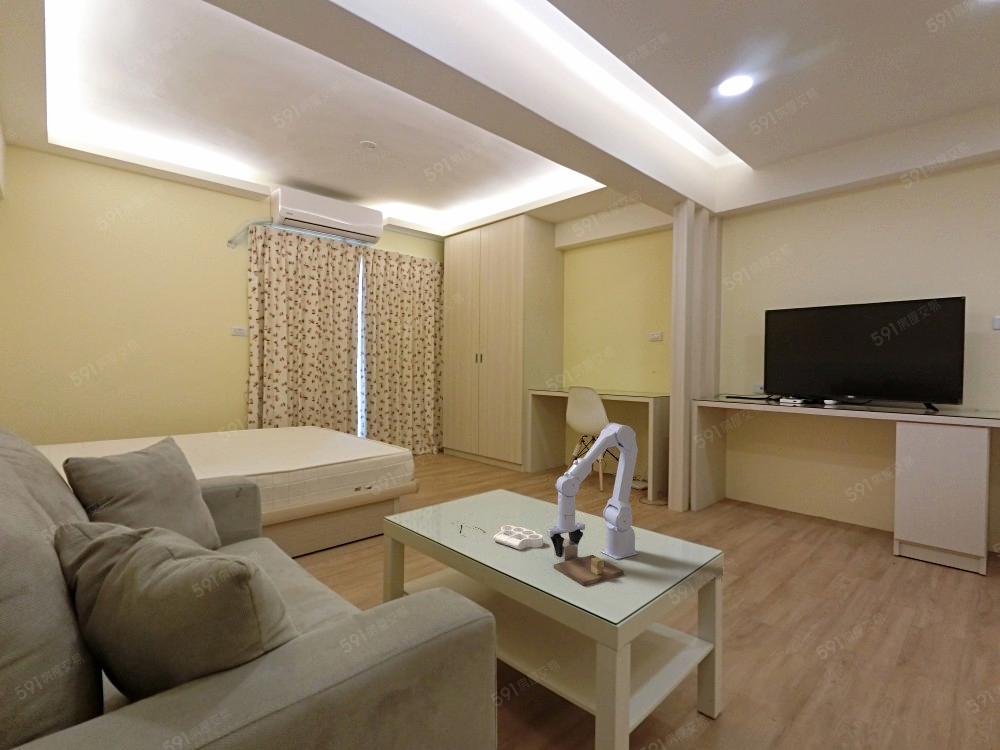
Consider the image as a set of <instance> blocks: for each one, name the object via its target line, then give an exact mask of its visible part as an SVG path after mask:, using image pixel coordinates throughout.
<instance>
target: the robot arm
mask: <svg viewBox="0 0 1000 750" xmlns="http://www.w3.org/2000/svg"><path fill="white" fill-rule="evenodd" d="M636 435H637V433H636V432H635V431H634V429H633V428H632V427H631V426H629V425H624V424H620V423H616V422H609V423H608V424H606V426H605V427H604V428H603V429H602V430H601V432H600V434H599V435H598V438H597V439H596V441H594V443H593V444H592V445H591V447H590V448H589V450H588V451H587V453H586V454H585V455H584V457H579V458H577V460H576V459H575V460H574V461H573V462H572V465H571V466H570V468H569V469H568V470H567V471H565V472H564V473H563V475H562V476H559V478H557V479H556V483H554V485H555V489H556V490H557V523H556V525H555V526H553V527H550V528H547V529H546V536H547V537H549V538H550V540H551V542H552V545H553V547H554V548H555V553H556V556H558V557H561V556H562V546H563V541H564V539H565V538H564V537H563V536H562V534H567V533H568V539H569V540H571V541H573V542H575V543H577V544H578V545H579V543H580V541H581V539H582V537H583V536H584V533H583V531H585V530H586V524H585V523H584V522H576V494H578V493H579V490H580V485H581V483H582V482H583V481H584V480H585V479H586V477H587V476H588V475H589V474H590V473H591V472H592V470H593V464H594V463H595V462H596V460H598V458H599V457H600V456H601V455H602V454H603V453H604V452H605V451H606V450H607V449H609V448H613V447H616V449H618V450H619V452H620V454H619V460H618V465H617V471H616V475H615V482H614V485H613V491H612V495H611V496H612V497H611V498H609V499H608V500H607V503H606V506H605V508H604V509H603V511H602V514H603V515H602V516H603V519H604V520H605V522H606V523H605V525H606V526H605V527H606V528H605V530H606V535H605V536H606V537H605V539H606V541H605V548H603V549H600V552H601V553H603V554H605V555H606V556H609V557H611V558H612V559H615V560H621V559H624V558H628V557H632V556H635V555H637V554H638V553H637V552H636V533H635V530H634V528H633V527H632V524H633V516H632V511H633V508H632V505H631V504H630V494H631V490H632V483H633V479H634V473H635V469H636V463H637V456H638V452H639V449H638V445H637V444H638V443H637V439H636ZM554 548H553V549H554Z"/></svg>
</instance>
